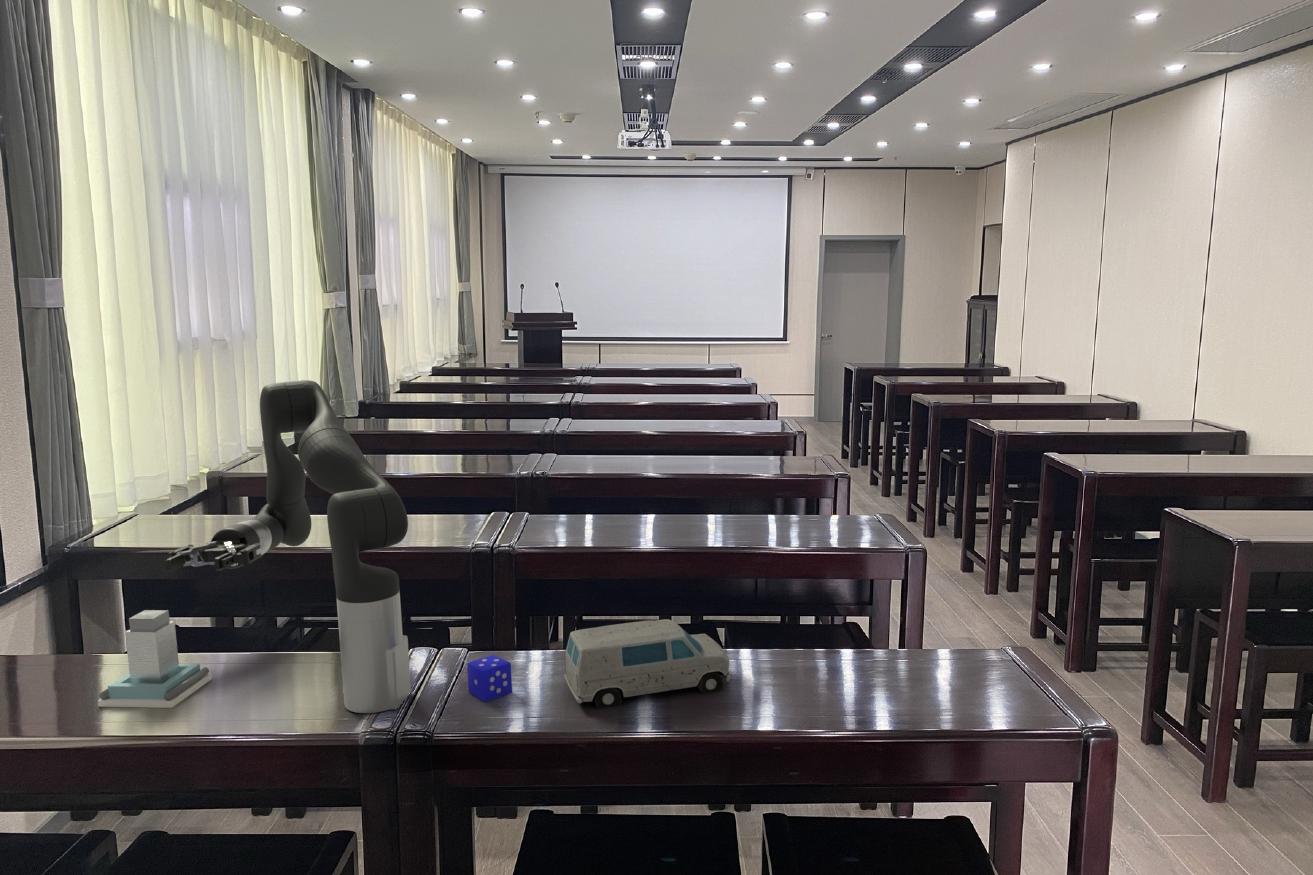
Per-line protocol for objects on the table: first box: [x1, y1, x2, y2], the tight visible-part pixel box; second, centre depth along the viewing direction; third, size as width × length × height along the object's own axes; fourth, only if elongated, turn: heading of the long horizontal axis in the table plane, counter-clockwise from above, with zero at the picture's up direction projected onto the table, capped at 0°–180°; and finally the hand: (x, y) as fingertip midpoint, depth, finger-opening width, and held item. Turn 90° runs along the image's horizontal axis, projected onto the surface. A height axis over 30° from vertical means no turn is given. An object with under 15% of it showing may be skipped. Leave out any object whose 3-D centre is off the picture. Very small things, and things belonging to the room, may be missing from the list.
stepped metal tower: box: [124, 609, 180, 684], centre depth 150 cm, size 5×5×12 cm
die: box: [466, 654, 513, 702], centre depth 147 cm, size 5×5×5 cm
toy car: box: [564, 618, 732, 709], centre depth 147 cm, size 11×25×10 cm, turn 107°
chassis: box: [97, 662, 213, 709], centre depth 150 cm, size 12×11×3 cm
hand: (192, 565), depth 159 cm, fingers open, 8 cm apart
